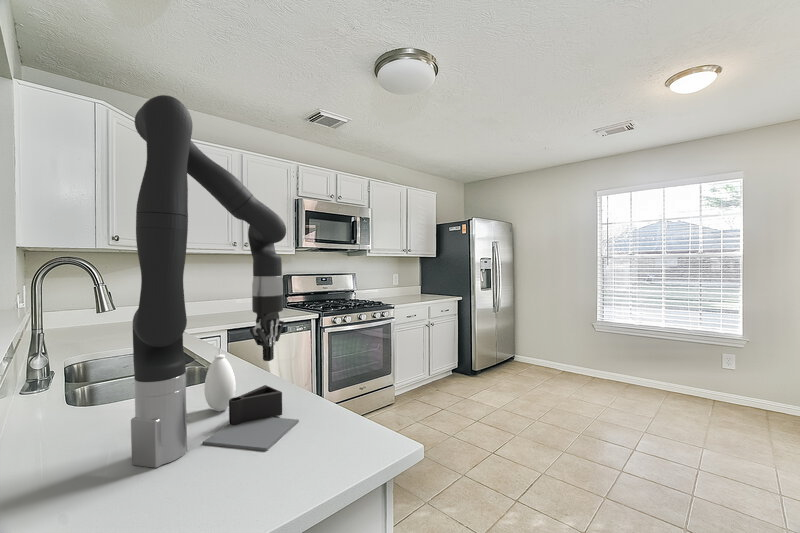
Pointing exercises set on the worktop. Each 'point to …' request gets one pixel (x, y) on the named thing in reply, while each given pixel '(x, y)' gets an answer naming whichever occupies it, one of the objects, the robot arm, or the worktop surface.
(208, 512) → the worktop surface
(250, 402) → the phone stand
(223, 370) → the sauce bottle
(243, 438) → the rubber mat
